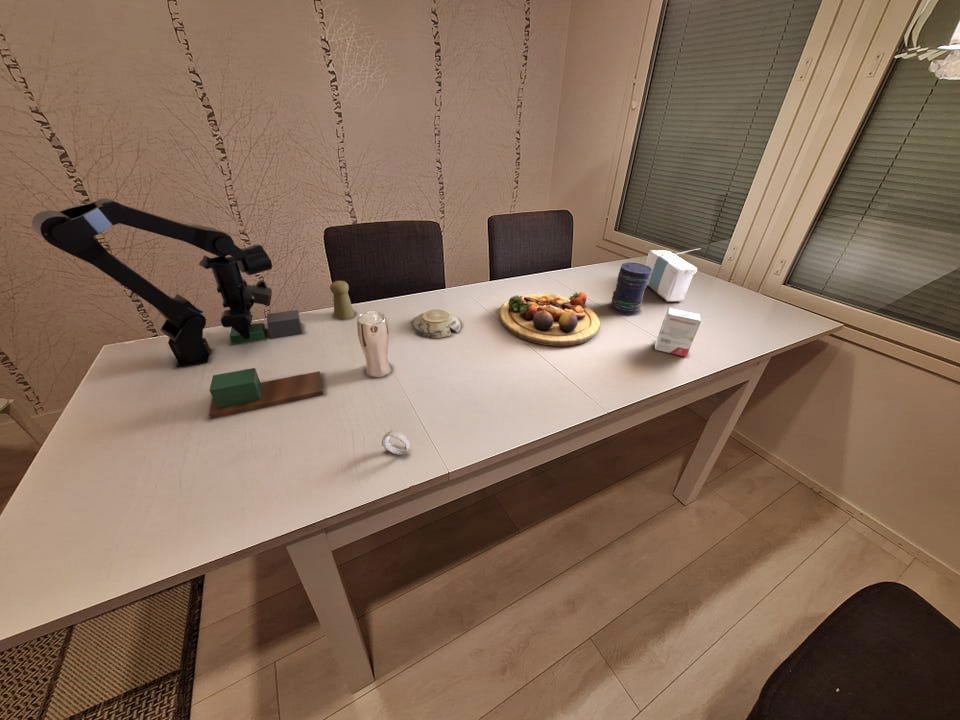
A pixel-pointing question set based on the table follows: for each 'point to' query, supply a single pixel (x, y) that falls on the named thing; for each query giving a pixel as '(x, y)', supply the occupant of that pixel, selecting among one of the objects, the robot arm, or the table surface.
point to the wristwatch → (397, 435)
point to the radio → (669, 274)
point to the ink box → (677, 332)
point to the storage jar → (630, 288)
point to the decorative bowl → (436, 324)
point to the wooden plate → (550, 319)
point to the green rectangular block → (255, 331)
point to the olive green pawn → (341, 300)
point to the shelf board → (276, 393)
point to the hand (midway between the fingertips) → (248, 333)
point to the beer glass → (374, 342)
